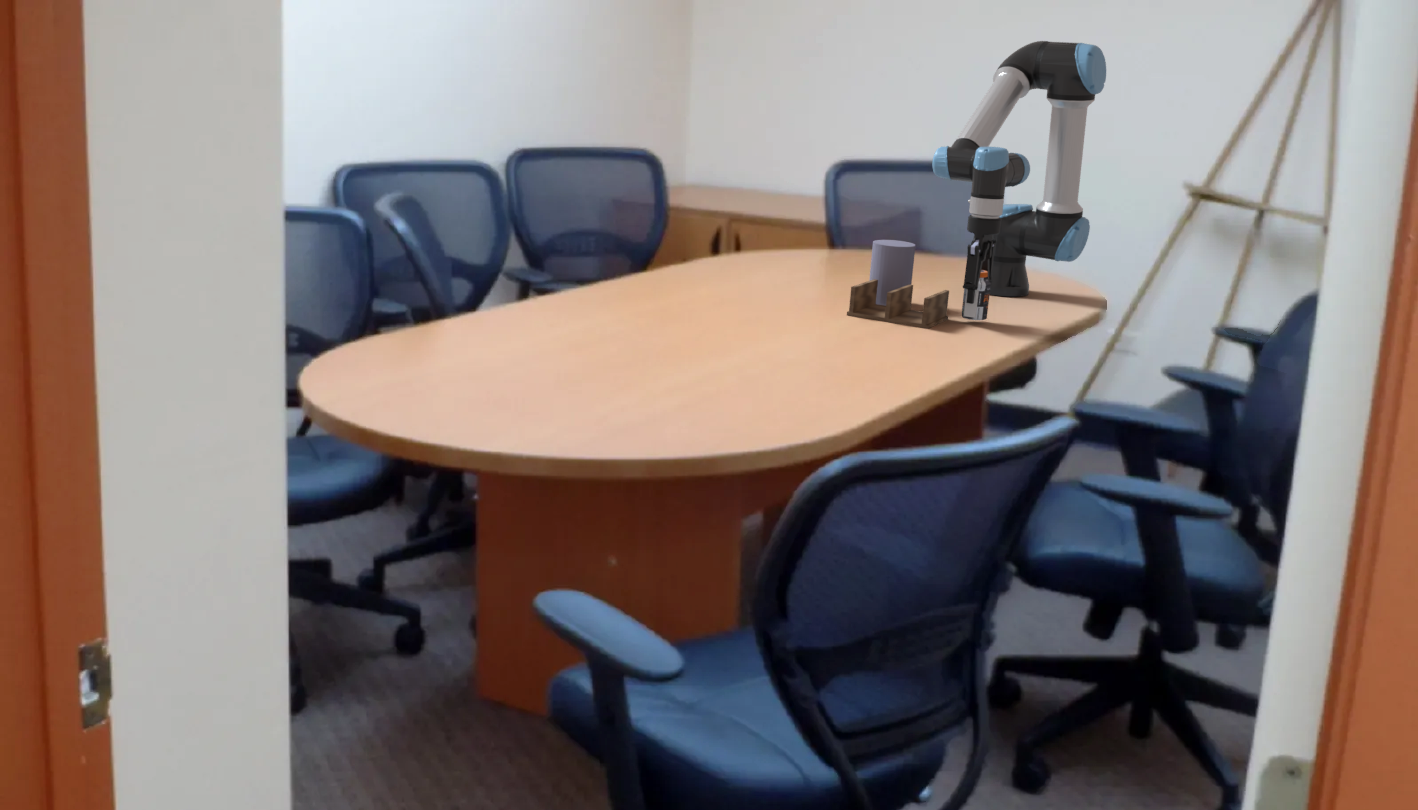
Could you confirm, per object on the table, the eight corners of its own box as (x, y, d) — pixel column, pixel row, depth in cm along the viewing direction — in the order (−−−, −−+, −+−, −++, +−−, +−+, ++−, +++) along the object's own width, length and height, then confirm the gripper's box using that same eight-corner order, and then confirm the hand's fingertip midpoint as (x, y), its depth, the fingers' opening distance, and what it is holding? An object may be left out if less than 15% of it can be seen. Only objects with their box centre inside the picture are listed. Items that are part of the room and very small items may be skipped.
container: (872, 297, 340) (878, 238, 336) (913, 302, 337) (919, 242, 333) (862, 304, 330) (868, 243, 326) (904, 309, 327) (910, 248, 323)
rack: (869, 306, 329) (872, 278, 327) (948, 319, 319) (951, 290, 318) (846, 315, 317) (849, 286, 315) (927, 328, 308) (930, 299, 306)
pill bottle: (986, 321, 313) (992, 273, 310) (960, 319, 314) (965, 271, 311) (986, 316, 319) (992, 269, 316) (961, 314, 320) (966, 267, 317)
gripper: (982, 209, 320) (972, 305, 326) (955, 218, 304) (945, 318, 310) (1013, 213, 316) (1002, 310, 323) (988, 222, 300) (976, 323, 307)
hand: (974, 314), depth 317 cm, fingers closed on pill bottle, 6 cm apart
